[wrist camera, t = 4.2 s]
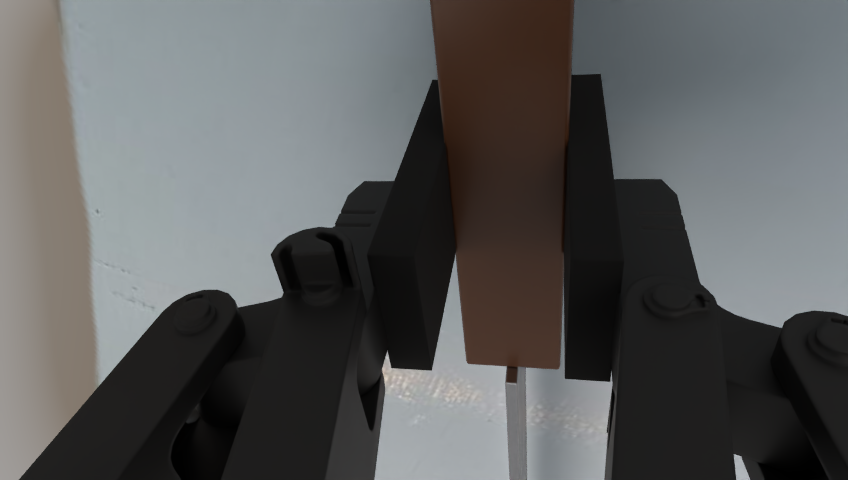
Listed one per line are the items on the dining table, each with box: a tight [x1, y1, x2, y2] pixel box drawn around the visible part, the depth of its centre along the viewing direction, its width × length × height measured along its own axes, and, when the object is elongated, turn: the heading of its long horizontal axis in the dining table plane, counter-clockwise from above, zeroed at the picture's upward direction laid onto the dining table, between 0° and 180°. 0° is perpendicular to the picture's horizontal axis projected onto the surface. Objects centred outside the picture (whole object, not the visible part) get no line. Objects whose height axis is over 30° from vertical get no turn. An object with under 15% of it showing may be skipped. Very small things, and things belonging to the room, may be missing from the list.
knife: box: [430, 0, 574, 480], centre depth 18 cm, size 24×2×4 cm, turn 6°
